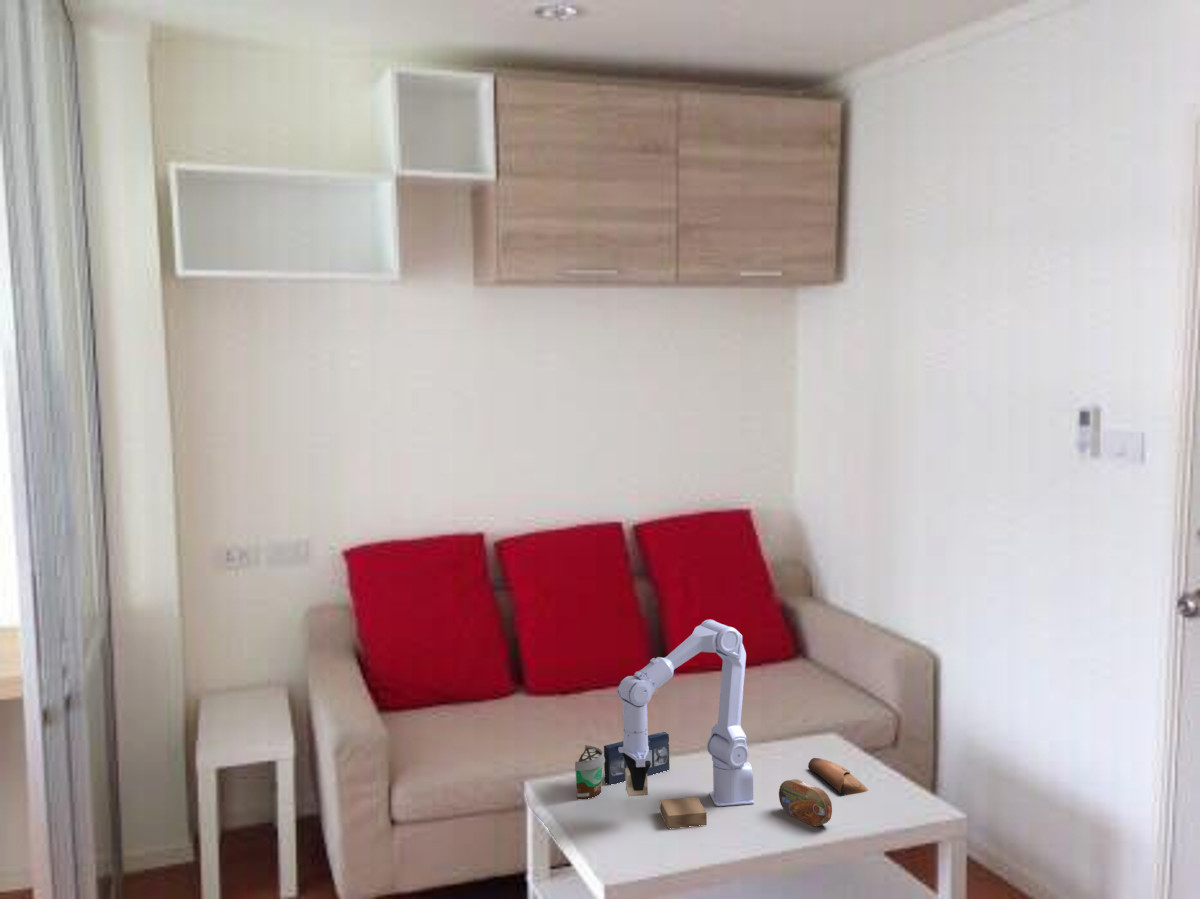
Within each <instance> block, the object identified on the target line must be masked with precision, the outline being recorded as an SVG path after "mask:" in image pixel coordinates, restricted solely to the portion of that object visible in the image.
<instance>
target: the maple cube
mask: <svg viewBox="0 0 1200 899" xmlns="http://www.w3.org/2000/svg"><path fill="white" fill-rule="evenodd" d="M625 781H626V782H625V791H626V794H627V795H628V797H629V798H630V797H641V796H648V795H649V793H648V792H649V790H648V787H649V786H648V785H649V783H648V776H647V774H646V778H645V783H644V788H643V790H641V791H634V789H633V785H632V779H631V774H630V771H629V769H628V768H625Z"/></svg>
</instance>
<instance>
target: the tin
mask: <svg viewBox="0 0 1200 899" xmlns="http://www.w3.org/2000/svg"><path fill="white" fill-rule="evenodd" d="M825 791H826V790H823V789H821V788H820V787H817V786H815V785H812V784H809V783H807V782H804V781H802V780H799V779H797V778H796V779H795V778H794V779H793V778H792V779H787V780H785V781H783V782H782V783H781V784H780V786H779V790H778V798H779V803H780V805H781V808H782V809H783V811H784V813H786V814H787V816H790V817H793V818H794V819H797V820H798V821H801V822H803V823H806V824H808V825H810V826H813V827H820V826H822V825H825V824H827V823H829V821H830V820H831V818H832V815H833V806H832V801H831V798H830V796H829V795H828V794H827V792H825Z"/></svg>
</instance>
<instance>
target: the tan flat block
mask: <svg viewBox="0 0 1200 899" xmlns="http://www.w3.org/2000/svg"><path fill="white" fill-rule="evenodd" d="M659 800H660V815H661V814H662V815H661V817H662V816H663V817H662V819H663V821H664V820H665V821H664V823H665V825H666V827H667V828H668V830H673V829H672V828H675V829H681V828H680V827H686V828H690V827H689V826H697V827H702V826H701V825H707V822H708V821H707V816H708V815H707V811H706V809H705V808H704V806H703V804H702V802H701V801H700V799H699V797H698V796H693V797H681V798H680V797H679V798H669V799H659ZM699 825H700V826H699ZM670 828H671V829H670Z"/></svg>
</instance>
